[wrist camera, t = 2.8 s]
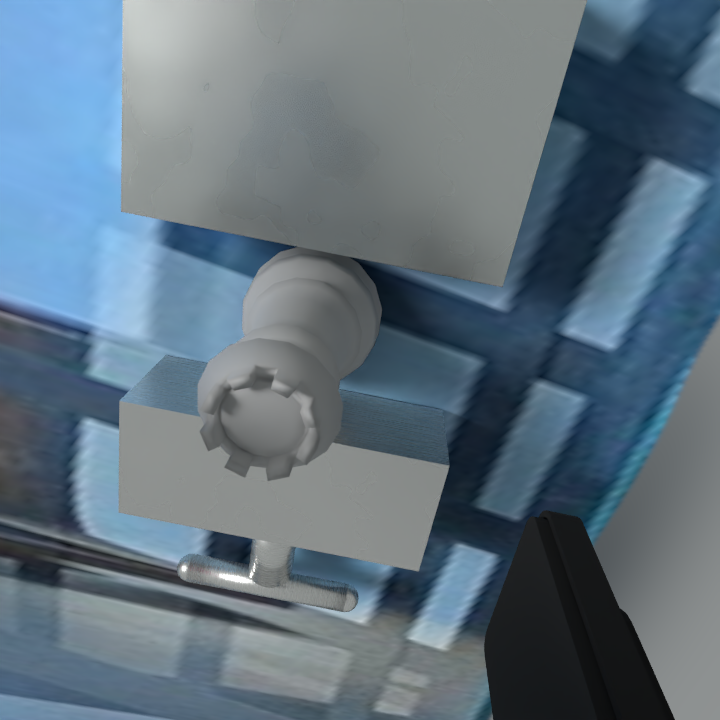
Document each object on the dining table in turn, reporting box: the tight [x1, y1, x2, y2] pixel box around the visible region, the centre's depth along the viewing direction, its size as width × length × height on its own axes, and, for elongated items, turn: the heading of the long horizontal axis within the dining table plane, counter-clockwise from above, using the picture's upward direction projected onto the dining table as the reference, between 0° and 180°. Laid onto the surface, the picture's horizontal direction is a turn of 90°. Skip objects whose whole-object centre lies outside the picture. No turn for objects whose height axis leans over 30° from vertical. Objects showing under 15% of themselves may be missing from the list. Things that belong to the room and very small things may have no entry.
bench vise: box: [119, 0, 587, 612], centre depth 17 cm, size 21×10×4 cm, turn 170°
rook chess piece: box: [198, 247, 382, 481], centre depth 15 cm, size 4×4×8 cm
